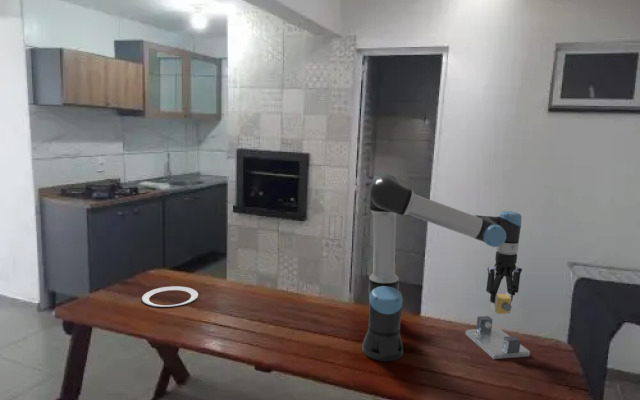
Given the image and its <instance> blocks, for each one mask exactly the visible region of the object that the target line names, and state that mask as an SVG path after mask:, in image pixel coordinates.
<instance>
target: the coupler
mask: <svg viewBox="0 0 640 400" xmlns="http://www.w3.org/2000/svg"><path fill="white" fill-rule="evenodd" d="M497 295H498V302H497V311H496V312H495V313H496V314H498V315H500V314H501V315H503V314H505V315H506V314H510V313H511V310H512V309H513V307H512V302H511V300H512V301H513V299H512V298H510V297H508V296H507V295H505V293H497Z"/></svg>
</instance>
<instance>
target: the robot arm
mask: <svg viewBox="0 0 640 400" xmlns="http://www.w3.org/2000/svg"><path fill="white" fill-rule="evenodd" d="M368 193H369V211H370V212H371V213H372V215H373V220H372V221H373V223H372V224H373V227H372V230H373V233H372V234H373V235H372V243H373V245H372V246H373V247H372V253H373V254H372V274H370V275H369V277H368V297H369V298H368V301H369V302H368V303H369V306H368V307H369V310H368V311H369V312H368V313H369V315H368V329H367V331H366V334H365V337H364V339H363V341H362V345H361V346H362V347H361V348H362V349H361V350H362V352H363V354H364V355H365V356H366V357H368V358H370V359H373V360H376V361H380V362H392V361H393V362H394V361H398V360H399V359H401V358H402V357H403V355H404V346H403V345H404V344H403V341H402V337H401V320H402V308H403V303H404V302H403V301H404V300H403V295H402V293H401V291H399V290H400V289H399V287H400V286H399V285H400V278H399V276H398V275H397V274H396V264H395V255H396V237H397V236H396V234H397V233H396V230H397V228H396V226H397V224H396V223H397V221H396V220H397V215H400V216H406V215H409V216H412V217H414V218H418V219H419V220H422V221H425V222H429V223H431V224H434V225H436V226H439V227H441V228H445V229H448V230H451V231H453V232H456V233H459V234H461V235H464V236H468V237H470V238H473V239H475V240H478V241H480V242H483V243H484V244H485V245H487V246H490V247H492V248H496V252H495V259H494V260H495V263H494V265H493V266H492V267H487V272H488V274H487V282H486V291H485V292H486V293H488V294H490V297H489V301H490V310H491V311H493V312H494V313H496V311H497V302H498V295H497V294H498V291H499V288H500V285H501V282H502V280H503V279H504V277H505V280H506V281H505V282H506V288H507V289H506V291H507V292H505V293H504V294H505V295H507V296H508V297H510V298H512V300H511V303H512V302H513V297H514V296H516V294H517V293H519V288H520V287H519V286H520V279H521V278H520V277H521V273H522V271H523V269H522V268H521V267H519V266H516V264H517V262H518V261H517V260H518V254H517V253H518V252H519V243H520V234H521V228H522V215H521V214H520V212H519V213H518V212H516V211H509V210H508V211H507V210H506V211H505V210H504V211H501V212H500V215H499V216H489V215H478V214H475V215H474V214H470V213H468V212H464V211H462V210H459V209H457V208H453V207H450V206H448V205H445V204H443V203H440V202H437V201H435V200H432V199H429V198H426V197H423V196H421V195H418V194H415V191H414V190H413V189H411V188H407V187H406V186H403V185H402V184H401V183H400V182H399V181H398V179H397V178H396V177H394V176H393V175H390V174H380V175H377V176H375V177H374V178H372V180H371V181H370V183H369V186H368Z"/></svg>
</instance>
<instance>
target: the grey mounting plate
mask: <svg viewBox="0 0 640 400" xmlns="http://www.w3.org/2000/svg"><path fill="white" fill-rule="evenodd" d="M465 335H466V336H467V337H468V338H469V339H470V340H471V341H472V342H474V343H475V344H476V345H477V346H478V347H480V349H482V350H483V351H484V352H485V353H487V354H488V355H489V356H490V357H491V358H492V359H493V360H496V359H497V360H498V359H509V358H510V359H511V358H513V359H514V358H522V357H523V358H525V357H530V356H531V355H530V354H531V351H530V350H529V349H528V348H526V347H525V346H523V345H522V344H521V341H522V340H521V339H520V338H519V337H518V336H516V335H513V336H512V335H509V334H508V333H506V332H505V331H503V330H502V329H501V328H500V327H493V318H492V317H490V316H489V315H486V316H481V315H480V316H477V320H476V328H473V329H471V328H470V329H465Z"/></svg>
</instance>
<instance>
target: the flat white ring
mask: <svg viewBox="0 0 640 400" xmlns="http://www.w3.org/2000/svg"><path fill="white" fill-rule="evenodd" d="M167 291H183V292H186V293H188V294H190V298H189V299H188V300H186V301H183V302H181V303H177V304H169V305H167V304H165V305H162V304H156V303H153V302H151V301H150V298H151V296H153V295H155V294H157V293H161V292H167ZM198 297H199V293H198V291H197V290H196V289H193V288H191V287H187V286H178V285H177V286H173V285H171V286H163V287H158V288H154V289H151V290H150V291H147V292H146V293H144V294H143V295H142V296H141V301H142V302H143V304H145V305H147V306H150V307H153V308H154V307H155V308H174V307H175V308H176V307H179V306H185V305H187V304H190V303H192V302H194V301H196V299H197V298H198Z"/></svg>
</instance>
